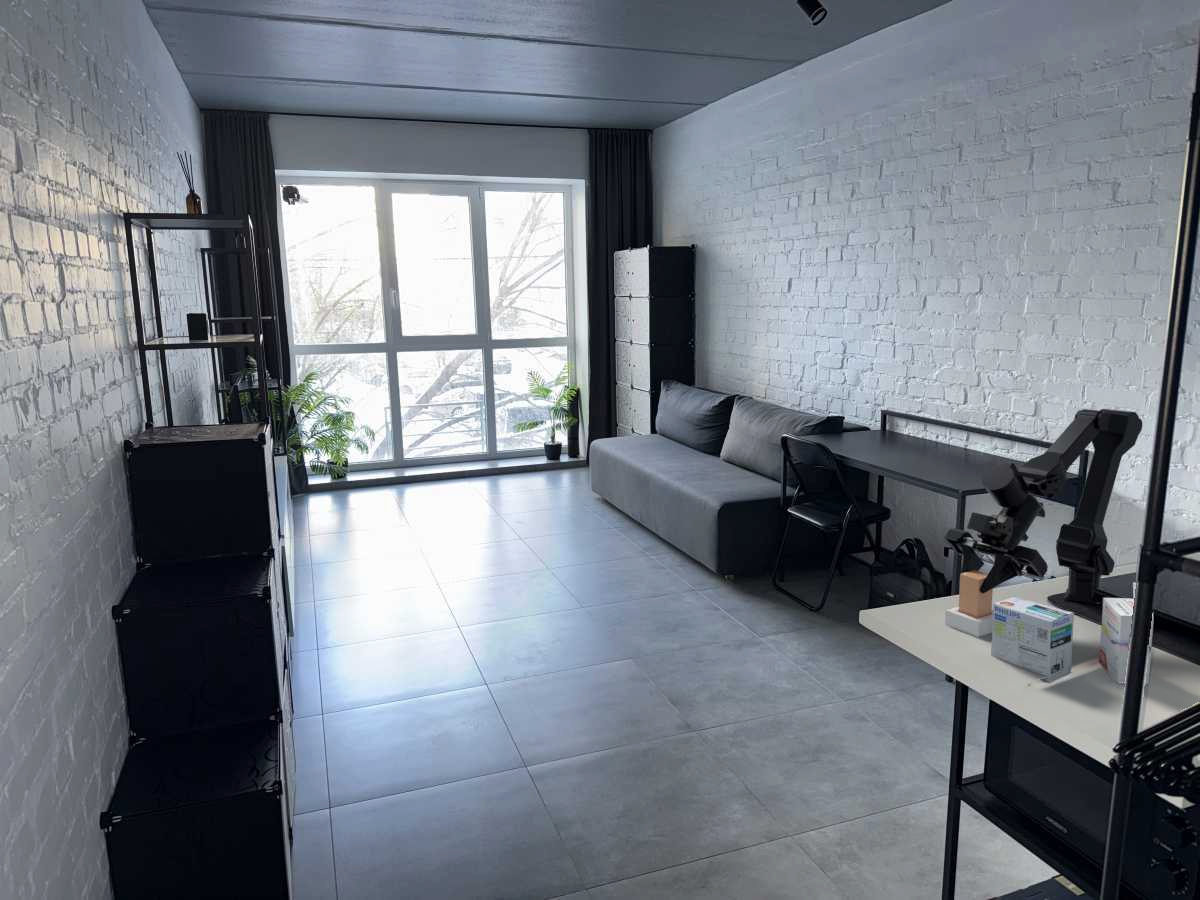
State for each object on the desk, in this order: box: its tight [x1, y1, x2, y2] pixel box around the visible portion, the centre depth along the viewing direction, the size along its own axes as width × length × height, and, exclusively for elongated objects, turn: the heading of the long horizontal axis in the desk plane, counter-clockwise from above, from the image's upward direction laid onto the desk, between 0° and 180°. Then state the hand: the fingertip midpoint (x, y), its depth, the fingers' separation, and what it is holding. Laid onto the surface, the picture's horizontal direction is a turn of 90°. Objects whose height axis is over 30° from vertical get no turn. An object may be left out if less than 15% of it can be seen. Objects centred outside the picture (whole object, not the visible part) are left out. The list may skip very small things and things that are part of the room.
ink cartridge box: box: [1098, 581, 1155, 686], centre depth 140 cm, size 9×5×15 cm, turn 168°
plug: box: [958, 570, 994, 619], centre depth 159 cm, size 4×4×10 cm
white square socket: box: [944, 605, 993, 638], centre depth 160 cm, size 7×7×3 cm
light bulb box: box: [990, 595, 1075, 684], centre depth 144 cm, size 11×7×11 cm, turn 32°
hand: (970, 588), depth 158 cm, fingers closed on plug, 4 cm apart
